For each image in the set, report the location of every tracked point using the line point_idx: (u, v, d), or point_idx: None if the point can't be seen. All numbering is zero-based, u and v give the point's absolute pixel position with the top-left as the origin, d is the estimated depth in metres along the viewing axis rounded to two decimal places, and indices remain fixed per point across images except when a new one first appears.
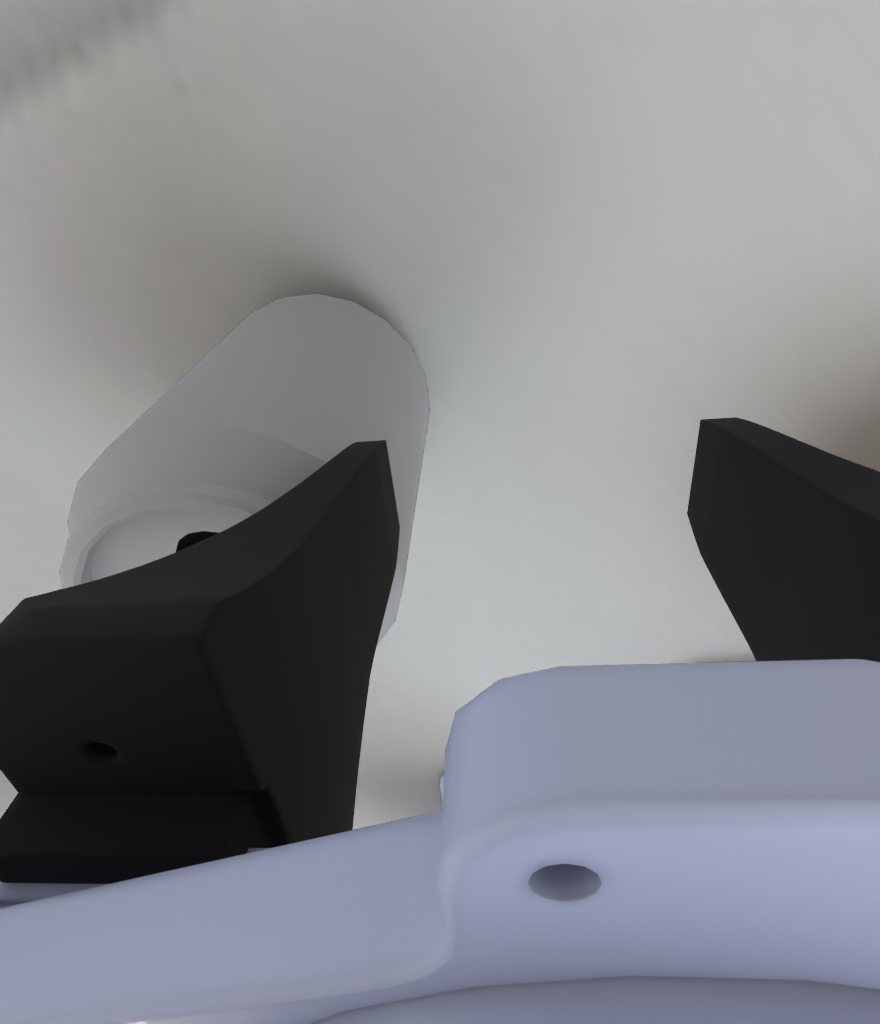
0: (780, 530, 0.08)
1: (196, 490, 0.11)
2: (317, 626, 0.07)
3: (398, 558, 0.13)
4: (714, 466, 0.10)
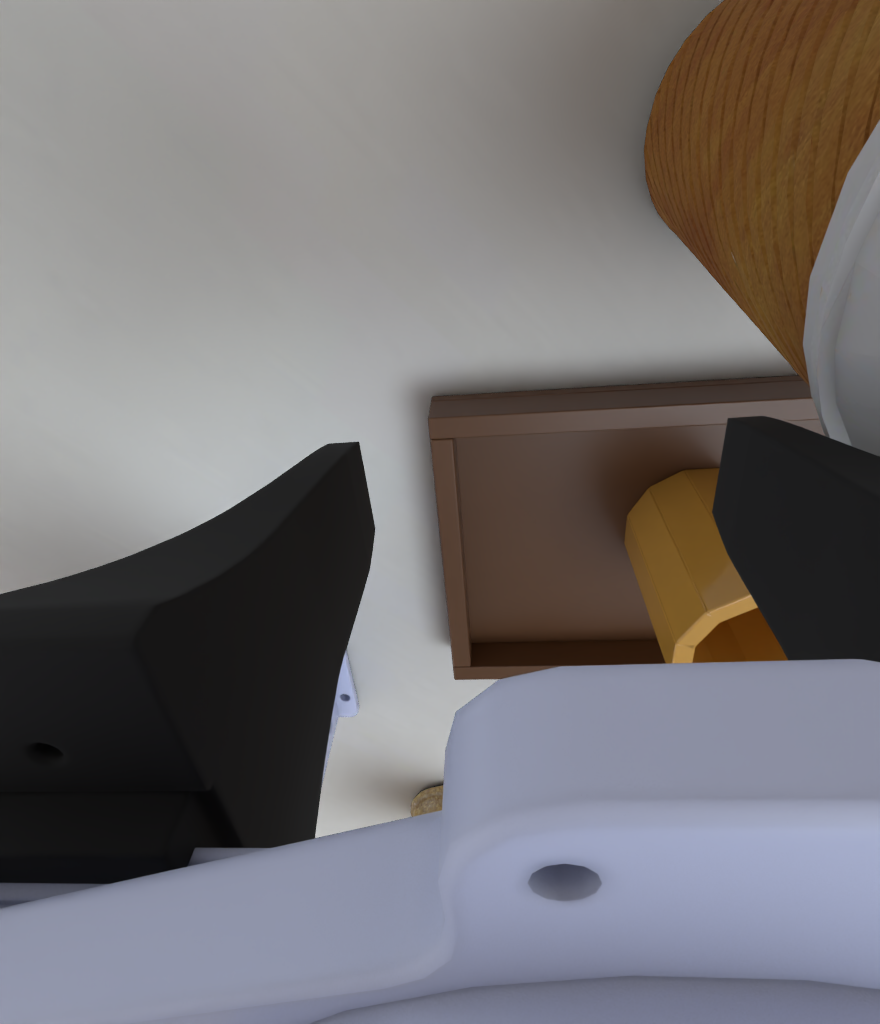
0: (816, 528, 0.08)
1: None
2: (275, 628, 0.07)
3: None
4: (742, 464, 0.10)
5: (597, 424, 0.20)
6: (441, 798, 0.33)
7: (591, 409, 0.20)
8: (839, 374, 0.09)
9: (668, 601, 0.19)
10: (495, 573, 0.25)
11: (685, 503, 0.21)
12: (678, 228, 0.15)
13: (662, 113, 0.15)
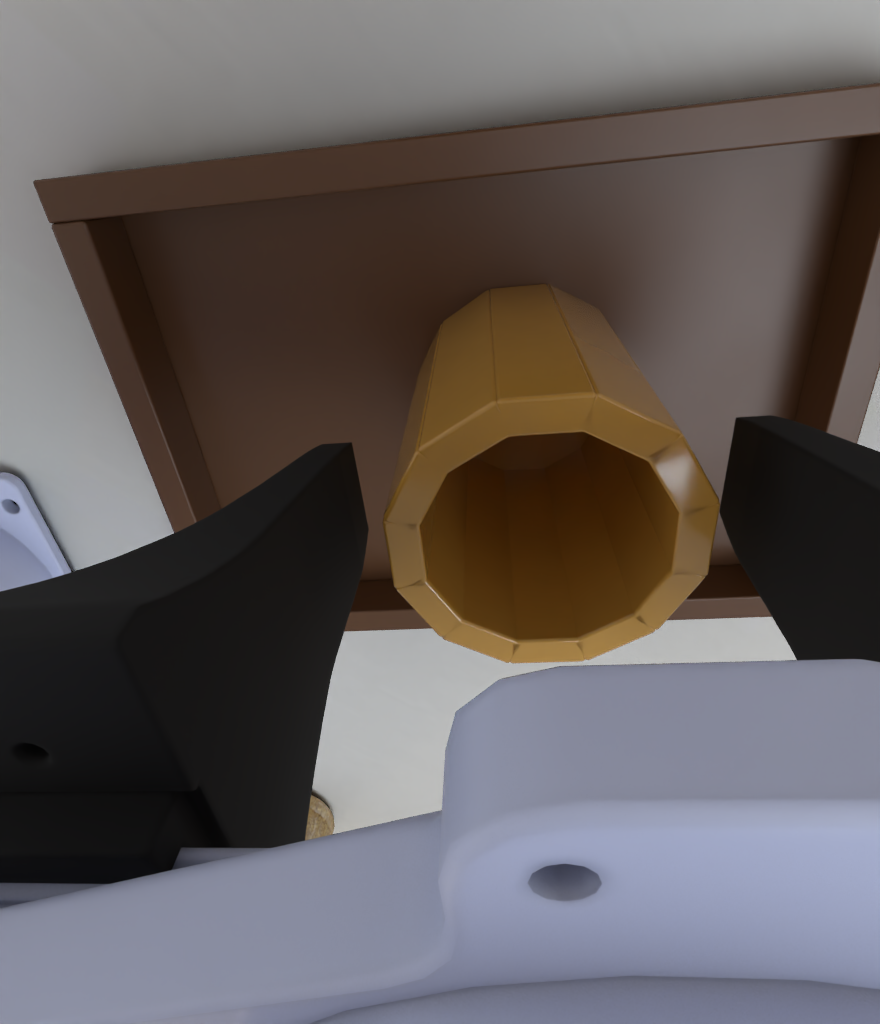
0: (826, 528, 0.08)
1: None
2: (263, 627, 0.07)
3: None
4: (751, 464, 0.10)
5: (305, 182, 0.12)
6: None
7: (289, 152, 0.12)
8: None
9: (399, 460, 0.11)
10: (252, 476, 0.17)
11: (469, 323, 0.13)
12: None
13: None
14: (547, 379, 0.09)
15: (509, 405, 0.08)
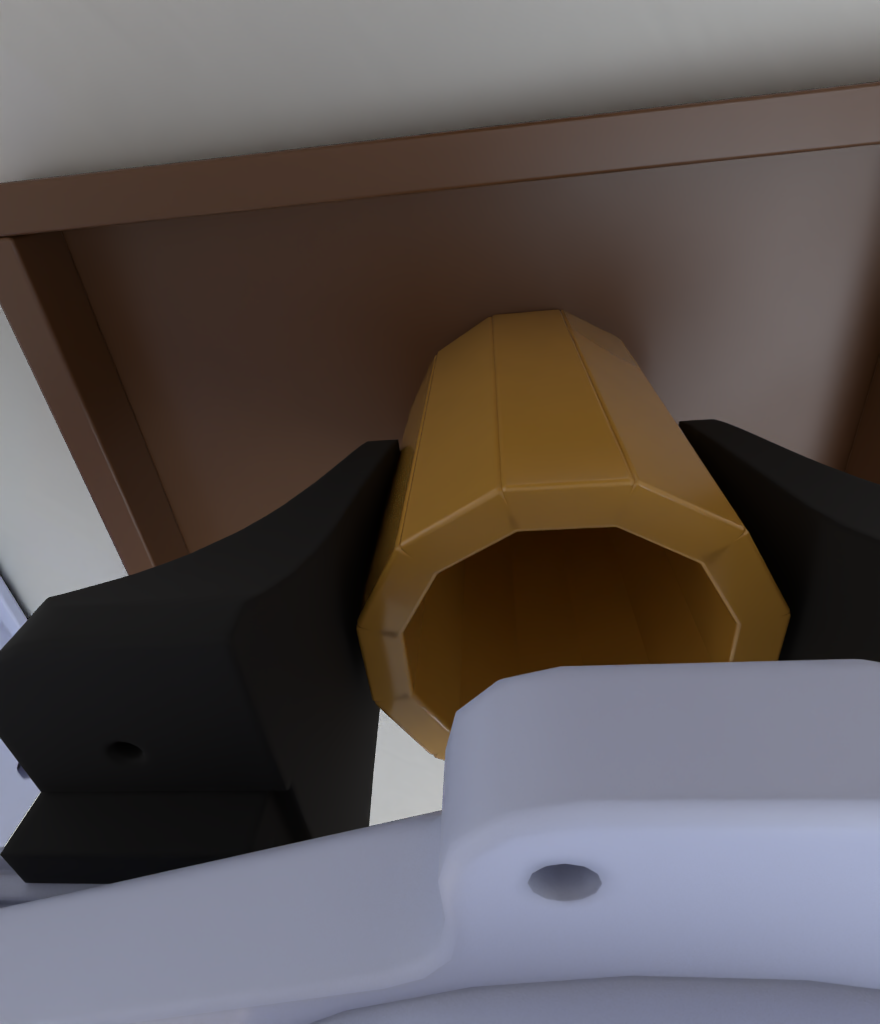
0: (751, 531, 0.08)
1: None
2: (335, 626, 0.07)
3: None
4: None
5: (273, 191, 0.10)
6: None
7: (252, 155, 0.10)
8: None
9: (380, 538, 0.09)
10: (224, 521, 0.15)
11: (468, 360, 0.11)
12: None
13: None
14: (567, 453, 0.07)
15: (518, 493, 0.06)
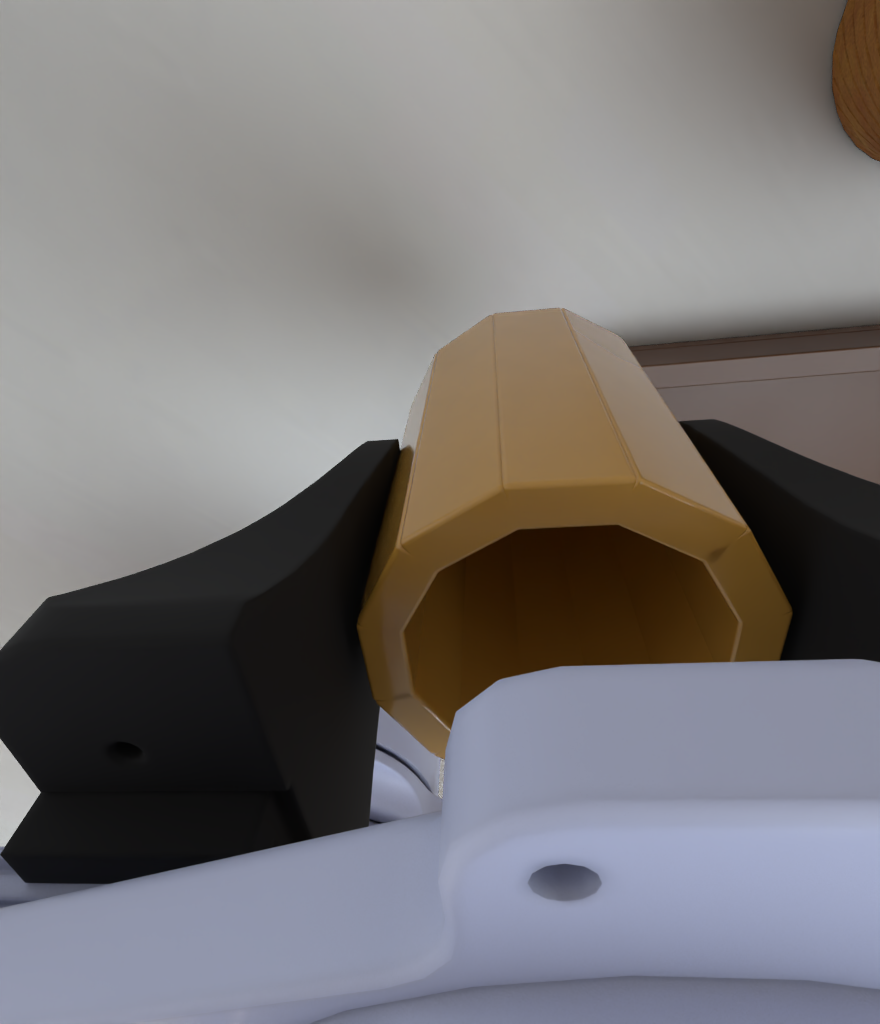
0: None
1: None
2: (335, 625, 0.07)
3: None
4: None
5: (774, 372, 0.18)
6: None
7: (770, 355, 0.18)
8: None
9: (381, 536, 0.09)
10: None
11: (468, 358, 0.11)
12: (875, 119, 0.14)
13: (859, 3, 0.14)
14: (568, 451, 0.07)
15: (520, 491, 0.06)
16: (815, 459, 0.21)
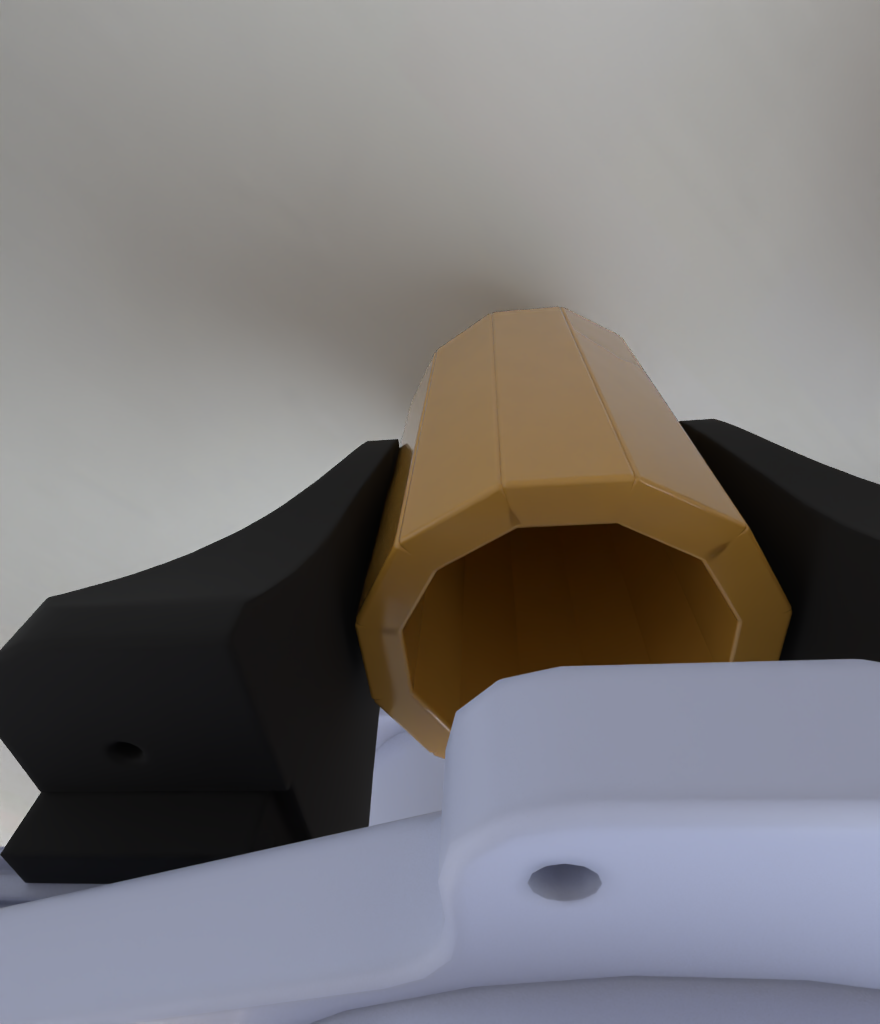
0: None
1: None
2: (335, 626, 0.07)
3: None
4: None
5: None
6: None
7: None
8: None
9: (380, 535, 0.09)
10: None
11: (467, 357, 0.11)
12: None
13: None
14: (567, 449, 0.07)
15: (518, 489, 0.06)
16: None
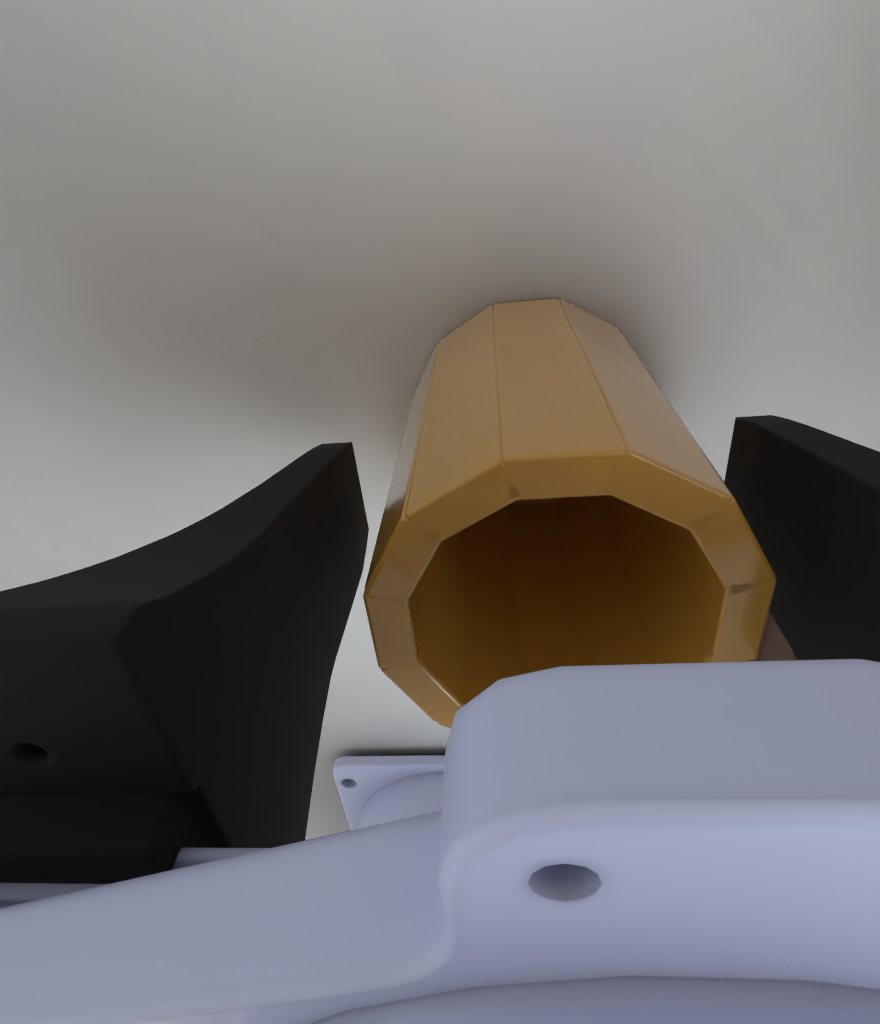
0: (826, 528, 0.08)
1: None
2: (264, 627, 0.07)
3: None
4: (751, 464, 0.10)
5: None
6: None
7: None
8: None
9: (386, 513, 0.09)
10: None
11: (469, 346, 0.11)
12: None
13: None
14: (564, 427, 0.07)
15: (518, 463, 0.07)
16: None
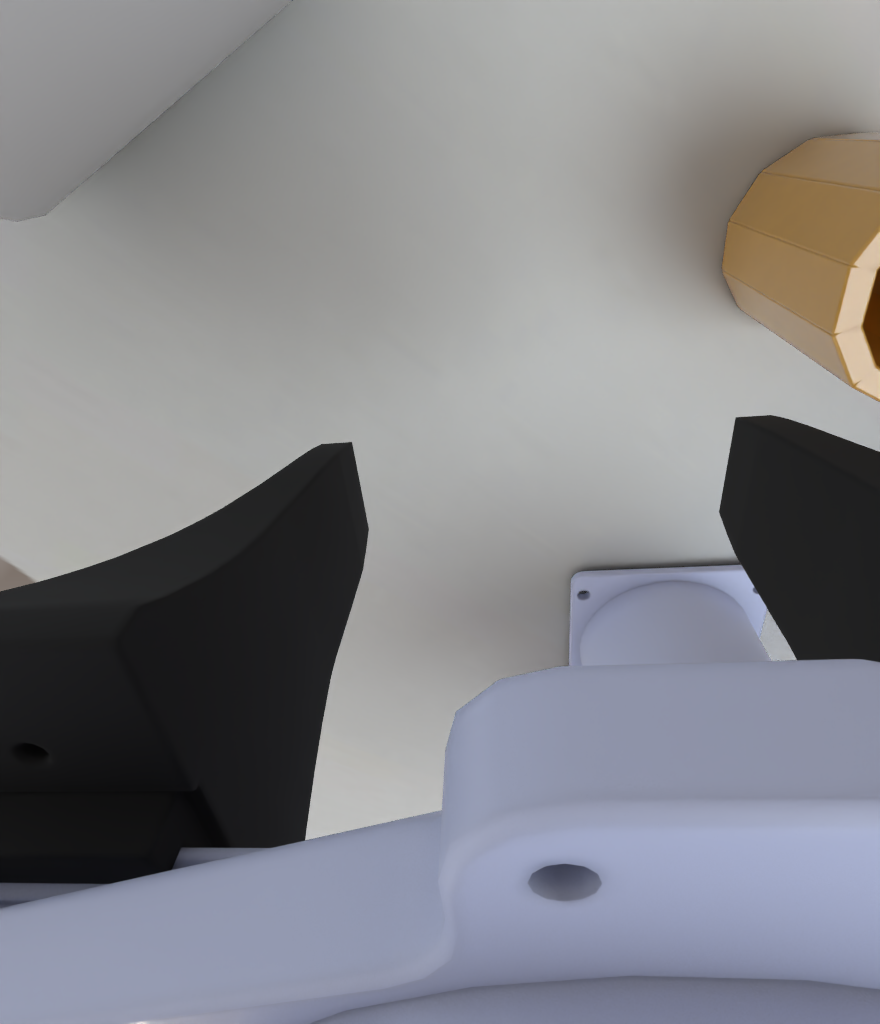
0: (826, 528, 0.08)
1: None
2: (264, 628, 0.07)
3: None
4: (751, 464, 0.10)
5: None
6: None
7: None
8: None
9: (823, 238, 0.13)
10: None
11: (824, 153, 0.15)
12: None
13: None
14: None
15: None
16: None
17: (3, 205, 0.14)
